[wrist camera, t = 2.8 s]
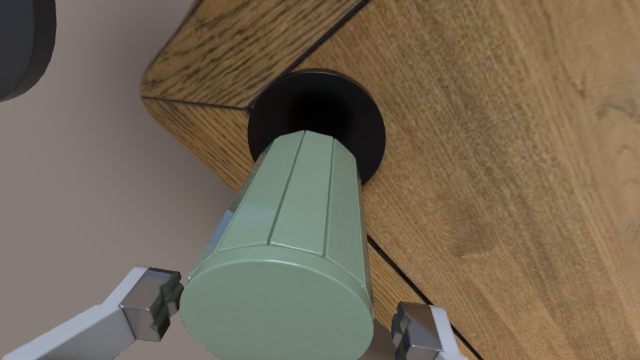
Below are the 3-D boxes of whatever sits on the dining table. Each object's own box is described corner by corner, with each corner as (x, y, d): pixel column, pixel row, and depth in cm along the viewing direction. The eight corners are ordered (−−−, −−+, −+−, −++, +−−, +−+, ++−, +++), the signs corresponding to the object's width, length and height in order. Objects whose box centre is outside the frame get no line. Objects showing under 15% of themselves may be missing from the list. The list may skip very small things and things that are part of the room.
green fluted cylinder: (237, 178, 18) (145, 321, 9) (303, 108, 15) (255, 222, 7) (310, 234, 20) (287, 393, 11) (381, 181, 17) (416, 337, 9)
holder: (227, 136, 24) (71, 301, 10) (313, 32, 19) (240, 78, 6) (319, 211, 27) (295, 409, 14) (411, 137, 23) (514, 325, 9)
